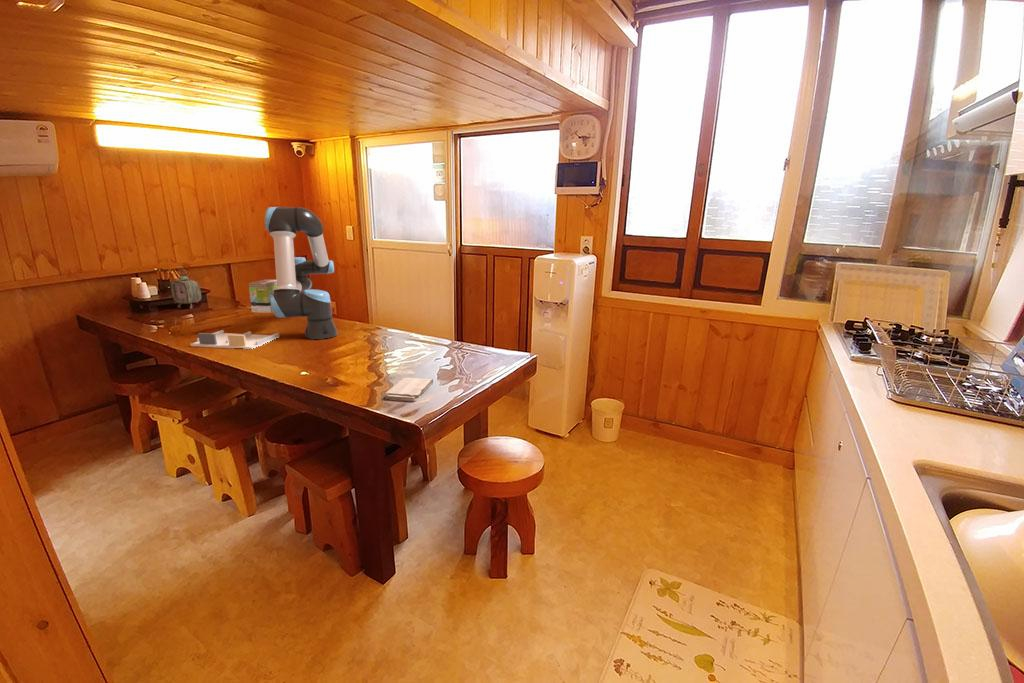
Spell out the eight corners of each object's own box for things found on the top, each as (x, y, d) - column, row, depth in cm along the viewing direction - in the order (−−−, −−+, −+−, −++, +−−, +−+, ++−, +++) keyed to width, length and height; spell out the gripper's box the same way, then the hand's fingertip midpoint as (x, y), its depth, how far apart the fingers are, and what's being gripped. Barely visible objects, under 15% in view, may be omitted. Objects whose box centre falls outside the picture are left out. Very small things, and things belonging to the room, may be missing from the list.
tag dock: (279, 337, 223) (277, 326, 221) (252, 349, 204) (250, 336, 202) (222, 334, 226) (220, 323, 225) (190, 346, 207) (188, 333, 206)
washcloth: (383, 401, 152) (383, 392, 151) (403, 382, 169) (403, 374, 168) (417, 403, 150) (416, 395, 150) (433, 384, 167) (433, 376, 167)
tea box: (271, 313, 222) (267, 283, 218) (251, 312, 222) (246, 283, 218) (286, 306, 237) (283, 279, 232) (268, 306, 237) (264, 278, 233)
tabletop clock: (174, 308, 284) (166, 268, 277) (188, 305, 292) (180, 267, 285) (191, 310, 279) (183, 270, 272) (204, 307, 288) (197, 268, 281)
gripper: (311, 295, 246) (286, 303, 225) (272, 293, 249) (244, 301, 228) (309, 281, 244) (284, 288, 223) (271, 280, 247) (242, 286, 226)
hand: (264, 295), depth 225 cm, fingers closed on tea box, 10 cm apart
